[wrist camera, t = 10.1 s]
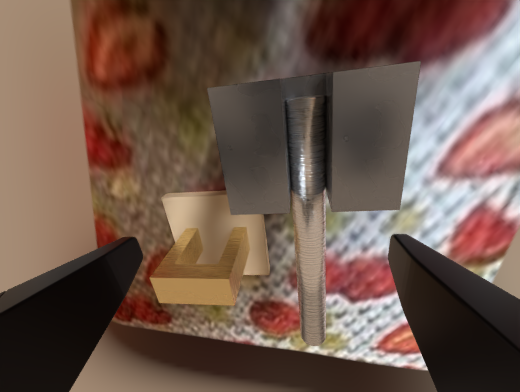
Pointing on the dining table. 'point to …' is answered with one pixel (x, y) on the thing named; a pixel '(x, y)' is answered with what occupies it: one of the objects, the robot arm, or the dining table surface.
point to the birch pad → (217, 226)
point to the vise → (316, 157)
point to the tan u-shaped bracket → (201, 271)
